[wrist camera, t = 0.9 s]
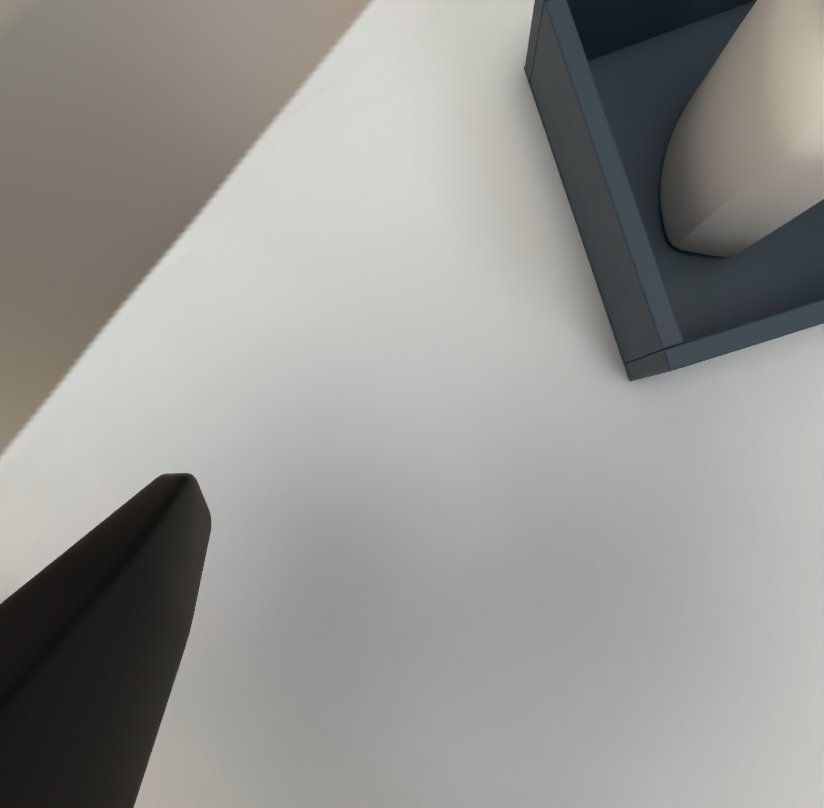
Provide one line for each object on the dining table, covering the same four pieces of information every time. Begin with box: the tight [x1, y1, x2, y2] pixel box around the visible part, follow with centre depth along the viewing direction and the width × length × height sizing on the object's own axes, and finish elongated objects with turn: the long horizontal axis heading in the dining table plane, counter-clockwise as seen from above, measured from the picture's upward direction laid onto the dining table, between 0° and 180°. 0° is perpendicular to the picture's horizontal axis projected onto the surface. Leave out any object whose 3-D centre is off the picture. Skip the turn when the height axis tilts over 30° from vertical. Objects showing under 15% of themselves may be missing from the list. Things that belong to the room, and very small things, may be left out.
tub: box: [524, 0, 824, 381], centre depth 18 cm, size 11×9×4 cm
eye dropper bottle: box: [660, 0, 824, 257], centre depth 14 cm, size 4×6×12 cm
